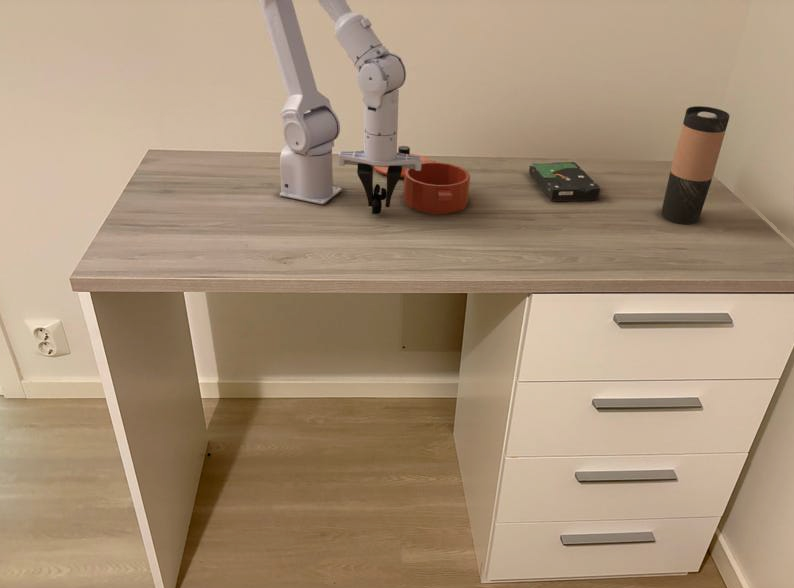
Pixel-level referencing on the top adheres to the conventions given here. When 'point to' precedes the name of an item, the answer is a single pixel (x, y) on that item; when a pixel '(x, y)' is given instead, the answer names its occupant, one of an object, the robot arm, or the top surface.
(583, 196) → the disk drive
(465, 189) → the pan
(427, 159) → the lid
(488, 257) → the top surface
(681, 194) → the travel mug
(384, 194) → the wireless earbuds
